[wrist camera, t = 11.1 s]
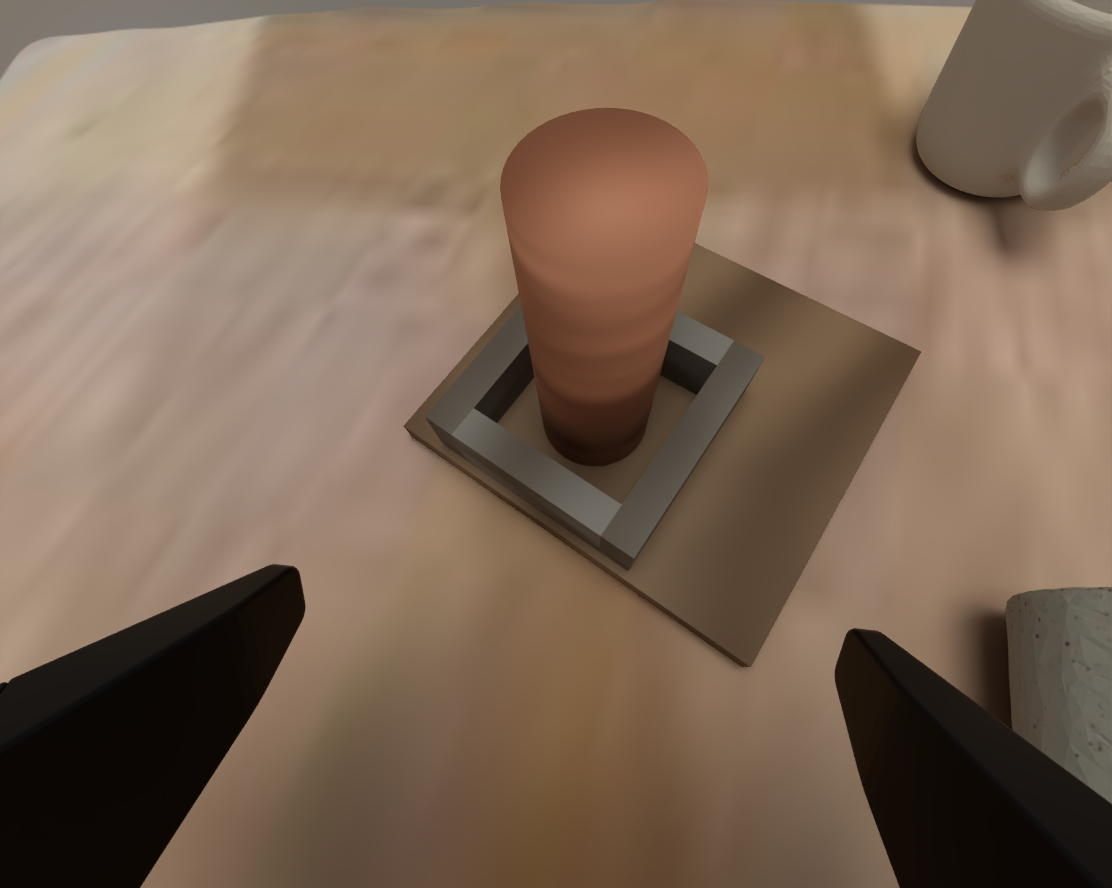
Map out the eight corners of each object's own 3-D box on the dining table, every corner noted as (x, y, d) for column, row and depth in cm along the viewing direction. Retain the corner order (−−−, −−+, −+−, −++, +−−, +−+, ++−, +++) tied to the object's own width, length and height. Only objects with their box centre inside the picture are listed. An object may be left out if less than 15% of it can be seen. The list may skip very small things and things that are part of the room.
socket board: (906, 364, 22) (963, 313, 18) (742, 666, 18) (776, 668, 15) (601, 215, 26) (603, 150, 22) (411, 435, 22) (380, 396, 18)
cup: (1100, 277, 23) (1347, 93, 15) (904, 264, 24) (1050, 83, 16) (1049, 105, 27) (1226, -108, 19) (883, 98, 27) (992, -108, 20)
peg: (667, 430, 20) (752, 196, 10) (579, 486, 19) (573, 297, 9) (608, 355, 21) (627, 82, 11) (523, 405, 21) (464, 163, 11)
